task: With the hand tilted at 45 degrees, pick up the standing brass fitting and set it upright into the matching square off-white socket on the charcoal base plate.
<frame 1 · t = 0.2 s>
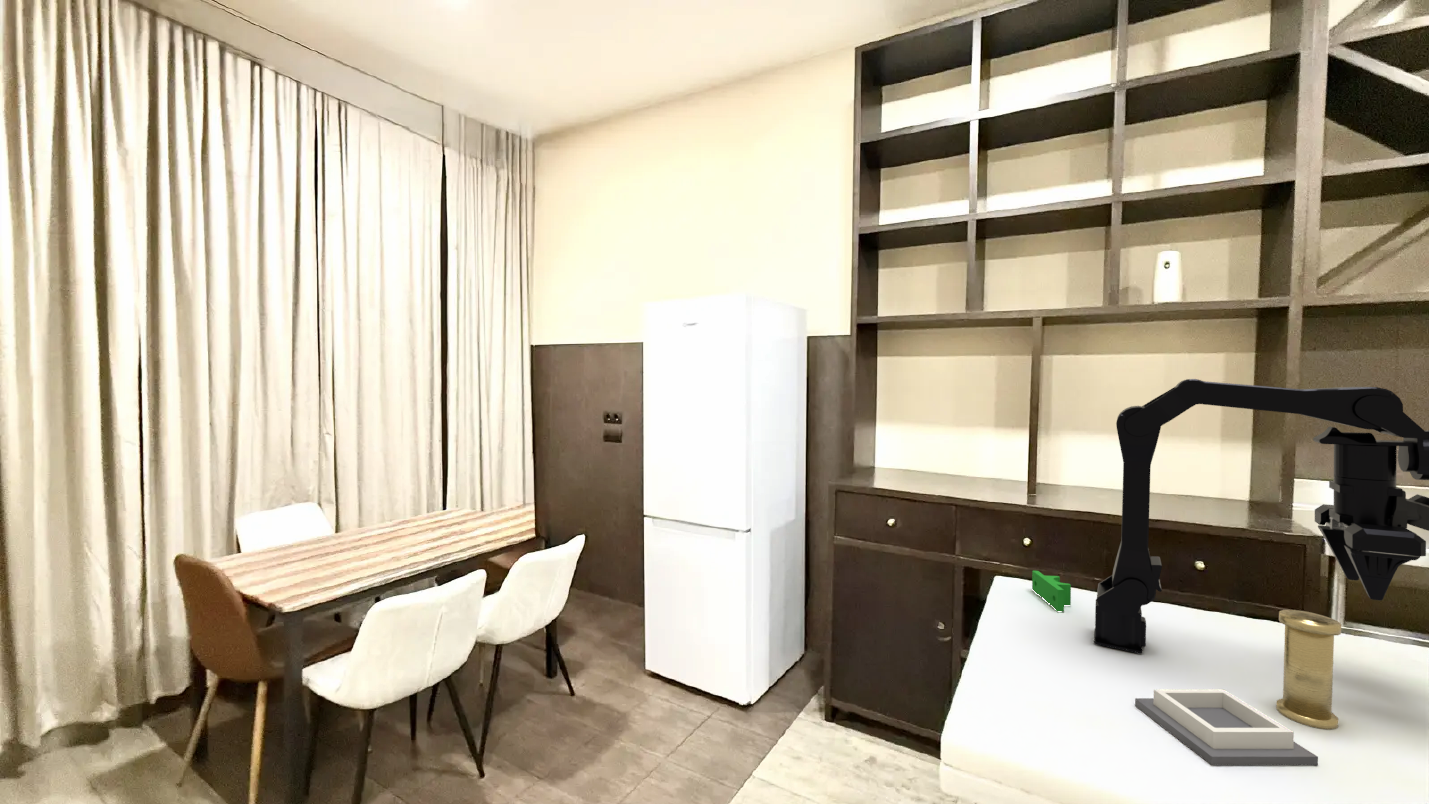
hand: (1363, 589, 79), 15 cm above the table, tool pointing down, fingers open, 9 cm apart
socket plate: (1218, 732, 71), on the table
green notched block: (1053, 603, 113), on the table
brass fitting: (1306, 716, 74), on the table
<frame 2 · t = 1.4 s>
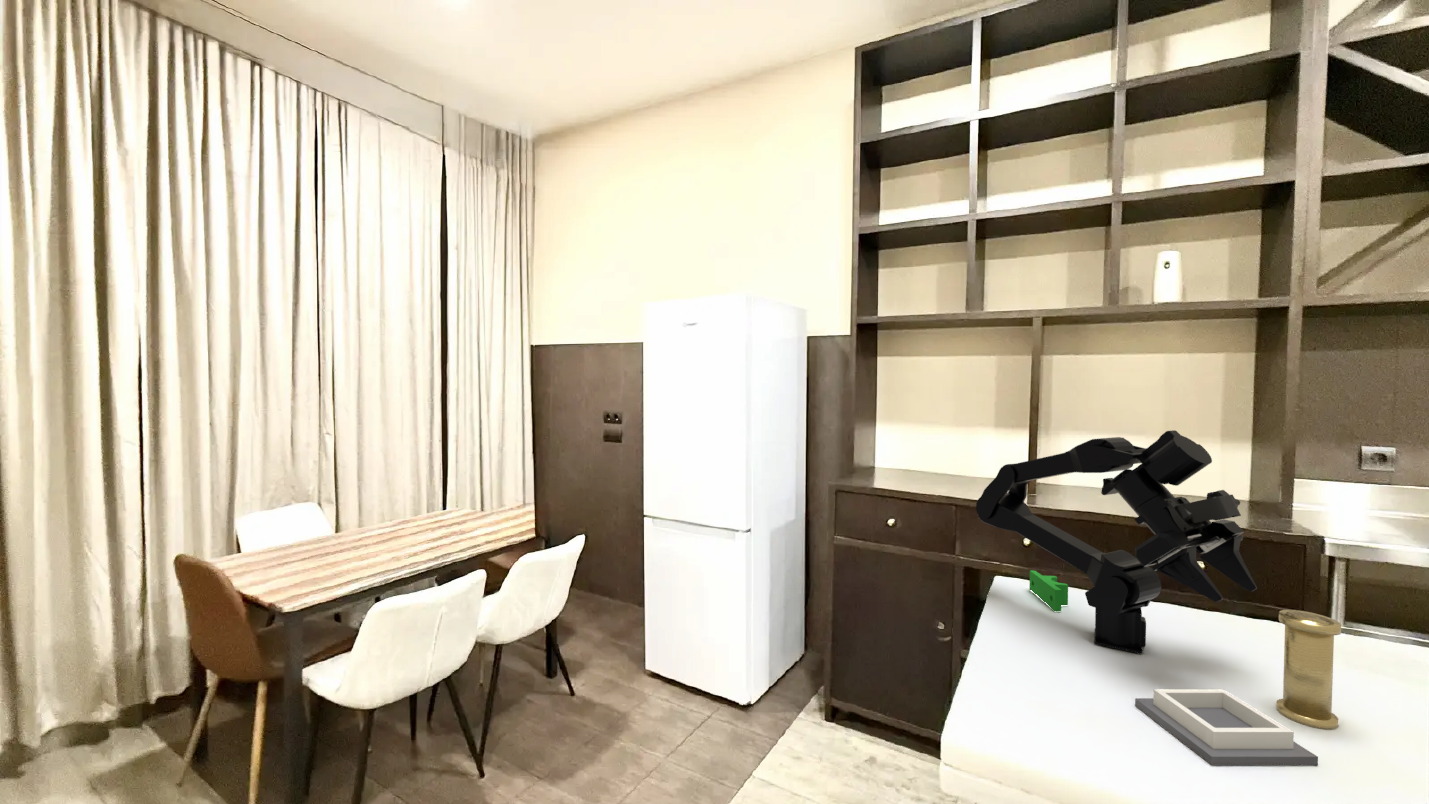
hand: (1237, 595, 81), 13 cm above the table, tool tilted 45°, fingers open, 9 cm apart
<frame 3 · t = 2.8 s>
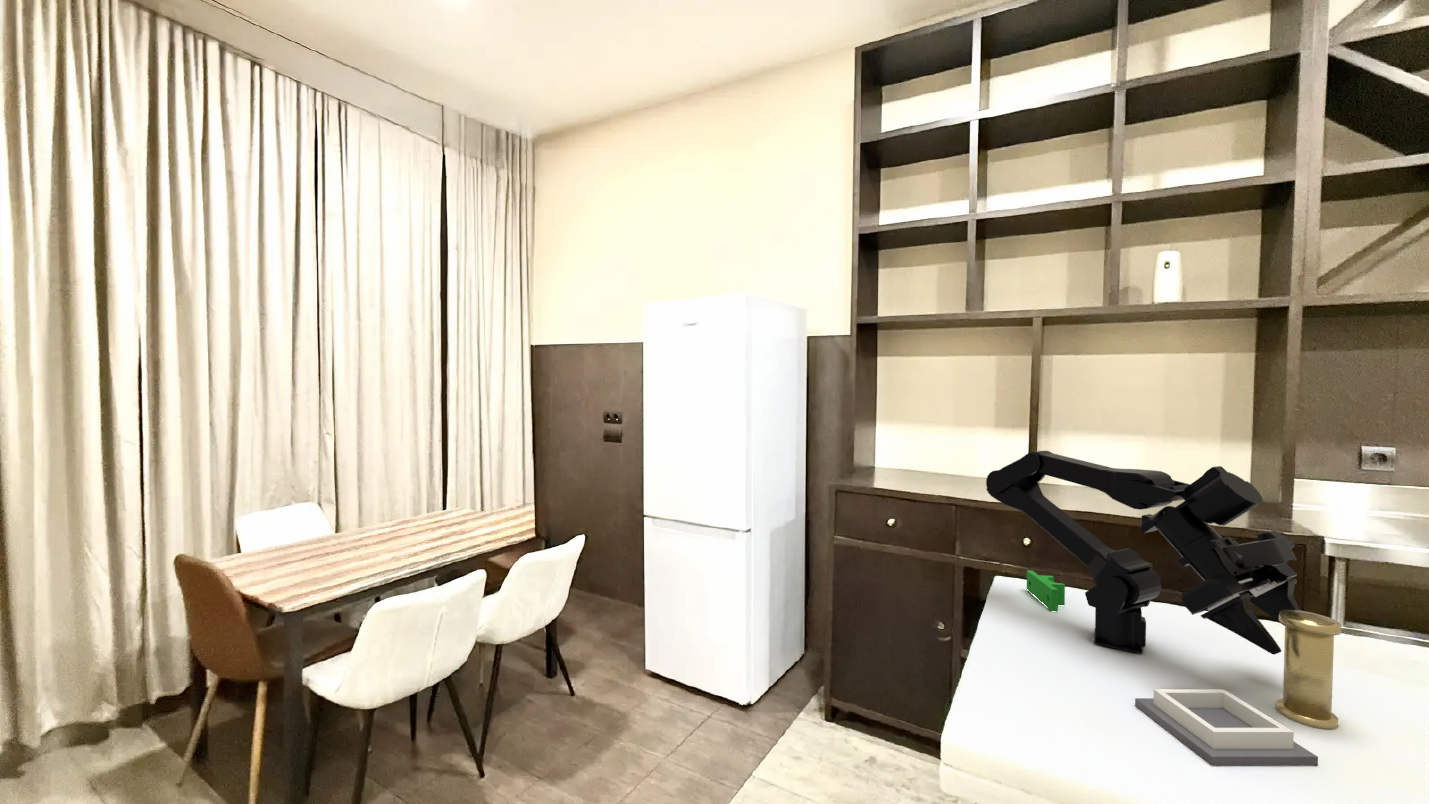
hand: (1295, 646, 75), 9 cm above the table, tool tilted 45°, fingers open, 9 cm apart
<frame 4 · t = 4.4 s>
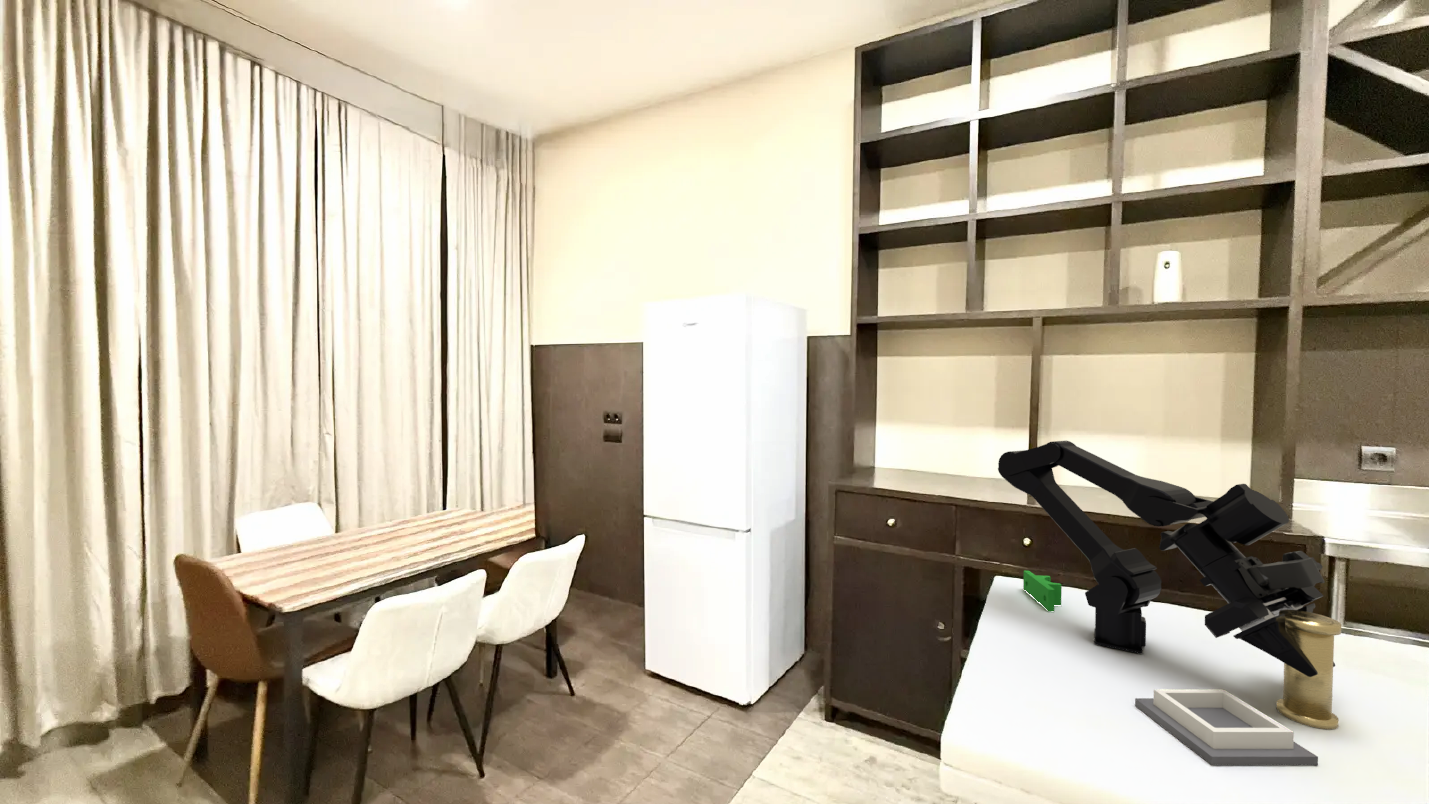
hand: (1322, 671, 73), 7 cm above the table, tool tilted 45°, fingers closed on brass fitting, 4 cm apart
brass fitting: (1306, 716, 74), on the table, touching gripper
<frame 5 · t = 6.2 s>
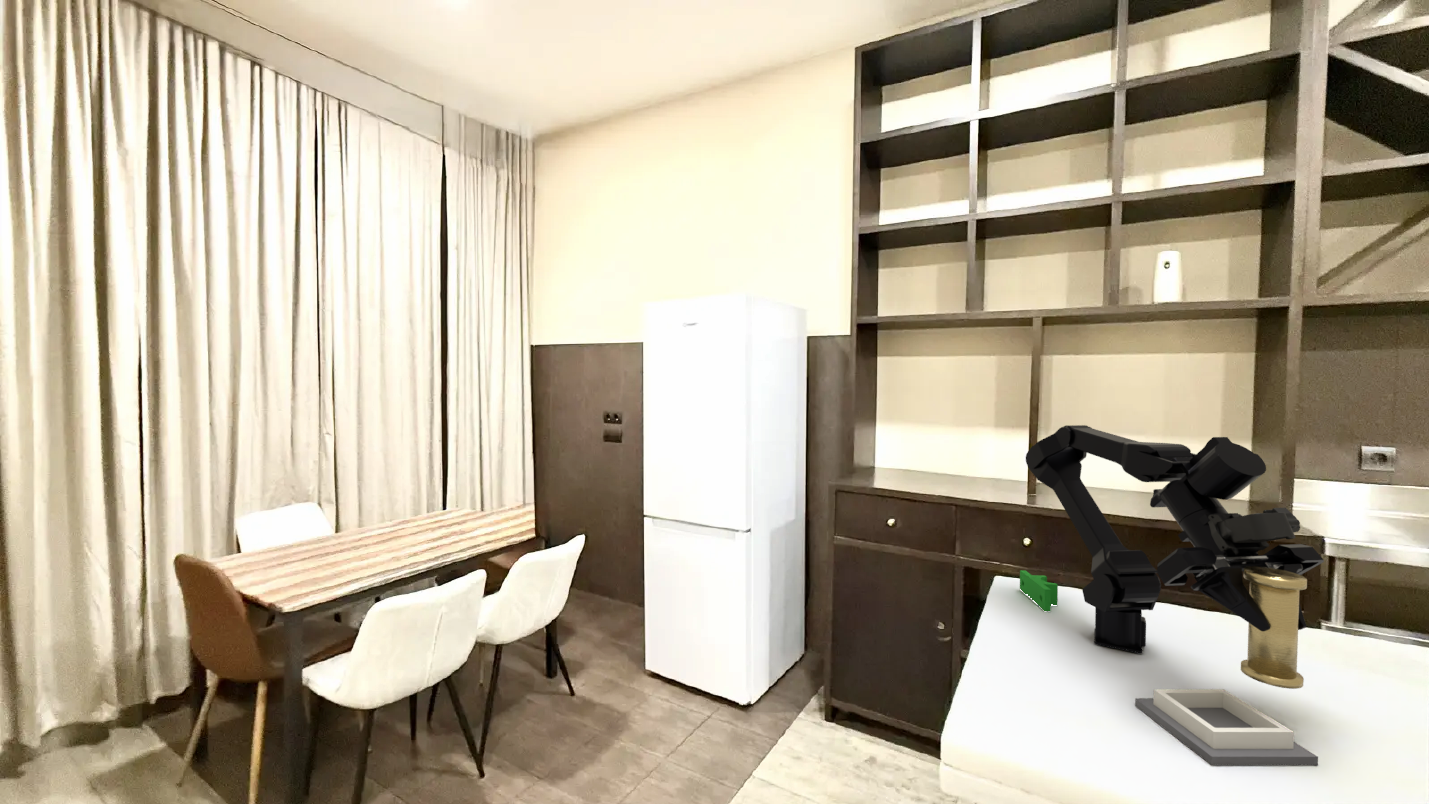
hand: (1284, 629, 69), 13 cm above the table, tool tilted 45°, fingers closed on brass fitting, 4 cm apart
brass fitting: (1271, 676, 71), point 7 cm above the table, touching gripper
when the fingers open (8 cm above the table, at t = 8.2 s): brass fitting stays where it is, resting on socket plate.
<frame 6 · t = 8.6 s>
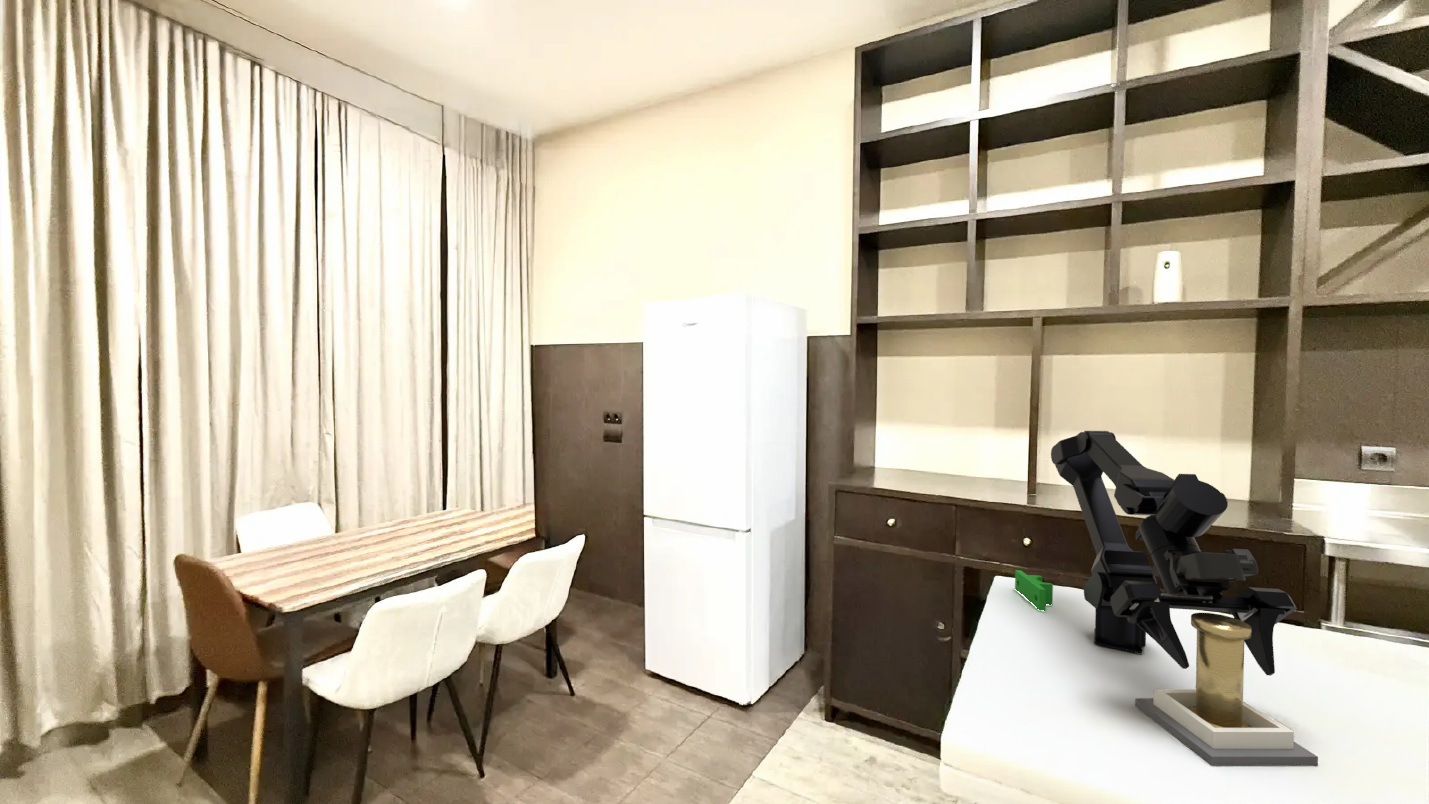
hand: (1228, 671, 69), 9 cm above the table, tool tilted 45°, fingers open, 9 cm apart
brass fitting: (1218, 724, 71), point 1 cm above the table, touching socket plate
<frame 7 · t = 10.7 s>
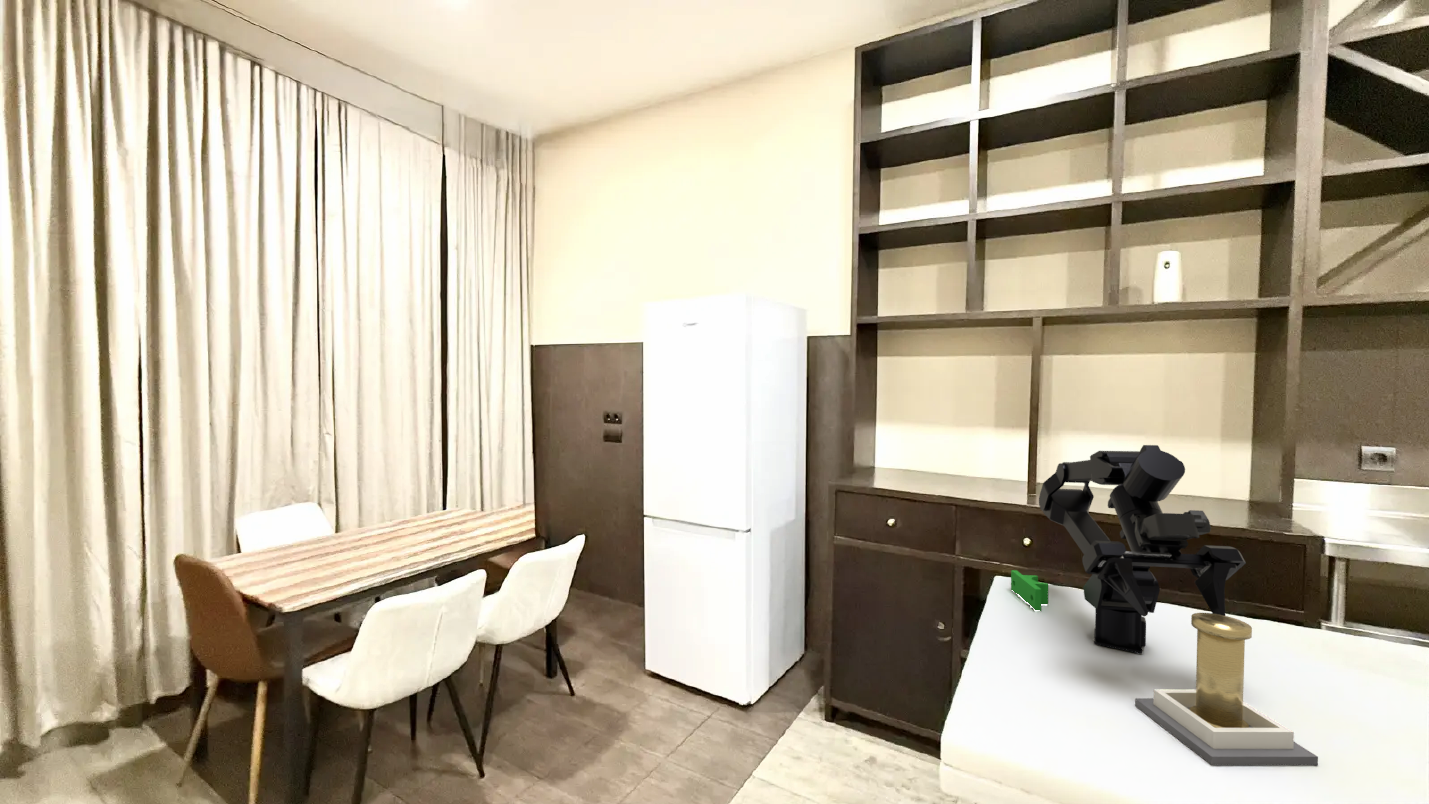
hand: (1183, 617, 78), 12 cm above the table, tool tilted 45°, fingers open, 9 cm apart
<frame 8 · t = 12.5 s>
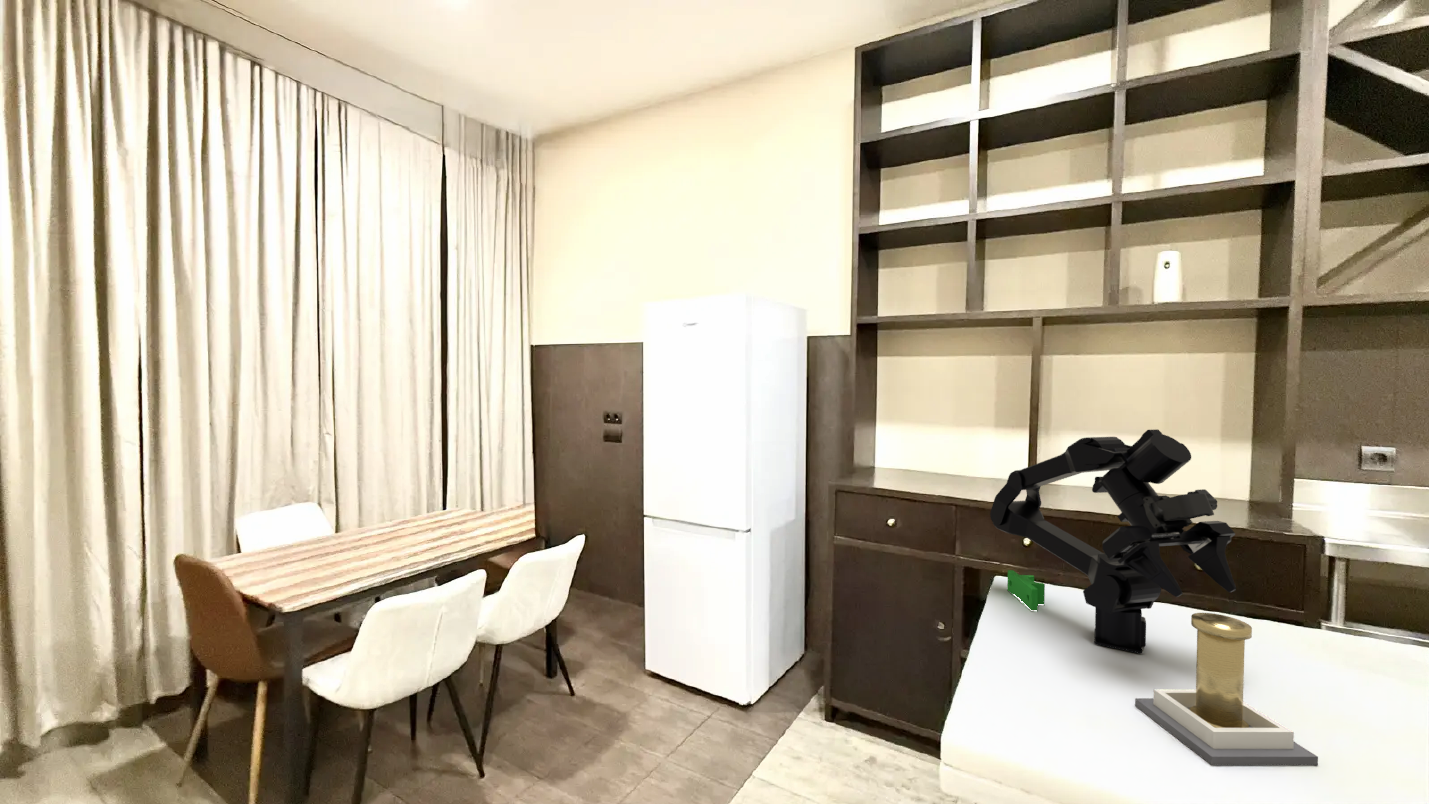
hand: (1206, 593, 81), 14 cm above the table, tool tilted 45°, fingers open, 9 cm apart
at the end: brass fitting 0.1 cm off-centre on the socket plate, point 1.0 cm above the socket plate's base; brass fitting tilted 0°; the gripper is holding nothing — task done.
